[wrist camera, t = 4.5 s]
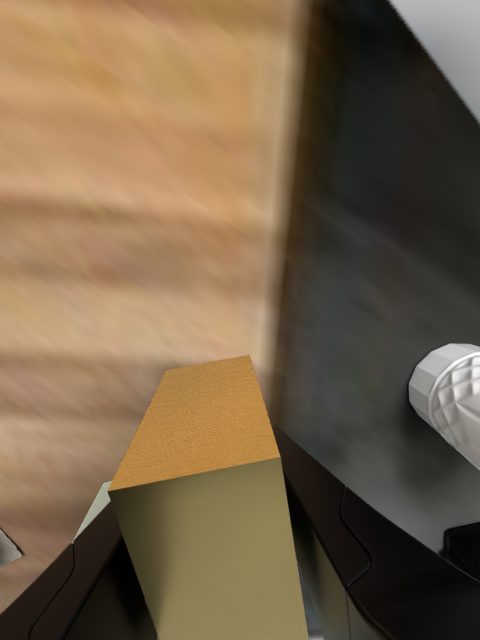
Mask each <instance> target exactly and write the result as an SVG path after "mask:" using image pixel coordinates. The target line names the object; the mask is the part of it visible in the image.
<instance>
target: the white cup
mask: <svg viewBox="0 0 480 640" xmlns="http://www.w3.org/2000/svg"><path fill="white" fill-rule="evenodd" d="M409 401H410V403H411V404H412V406H413V408H414V409H415V411H416V412H417V414H418V415H419V416H420V417H421V418H422V419H423V420H424V421H426V422H427V423H428V424H429V425H430V426H432V427H433V428H434V429H435V430H436V431H438V432H439V433H440V435H441V436H442V437H443V438H444V439H445V440H446V441H447V442H448V443H449V444H450V445H451V446H452V447H453V448H455V449H456V450H457V451H458V452H460V453H461V454H462V455H463V456H464V457H465V458H466V459H467V460H468V461H469V462H470V463H471V464H472V465H473V466H474V467H476V468H477V469H478V470H479V471H480V347H478V346H475V345H471V344H447V345H445V346H443V347H440V348H438V349H436V350H433V351H431V352H430V353H429V354H428V355H427V356H426V357H425V358H424V359H423V360H422V361H421V362H420V363H419V364H418V365H417V366H416V368H415V370H414V372H413V375H412V377H411V379H410V382H409Z"/></svg>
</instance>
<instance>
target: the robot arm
mask: <svg viewBox="0 0 480 640" xmlns="http://www.w3.org/2000/svg"><path fill="white" fill-rule="evenodd" d="M271 427H272V430H273V434H274V437H275V440H276V444H277V447H278V450H279V453H280V457H281V463H282V470H283V476H284V483H285V489H286V496H287V502H288V509H289V515H290V521H291V528H292V534H293V541H294V547H295V554H296V557H297V560H298V563H299V566H300V569H301V572H302V575H303V578H304V581H305V584H306V586H307V589H308V592H309V595H310V598H311V601H312V604H313V607H314V610H315V613H316V616H317V619H318V622H319V625H320V628H321V631H322V634H323V637H324V640H480V523H479V524H475V525H470V526H465V527H460V528H455V529H451V530H449V531H448V532H447V533H446V560H445V559H444V558H443V557H441V556H440V555H438V554H437V553H435V552H434V551H432V550H431V549H430V548H428V547H427V546H425V545H424V544H422V543H421V542H420V541H418V540H417V539H415V538H414V537H412V536H411V535H410V534H408V533H407V532H405V531H404V530H402V529H401V528H400V527H398V526H397V525H395V524H394V523H393V522H391V521H390V520H388V519H387V518H386V517H384V516H383V515H382V514H380V513H379V512H378V511H376V510H375V509H374V508H372V507H371V506H370V505H369V504H367V503H366V502H365V501H364V500H362V499H361V498H360V497H359V496H358V495H356V494H355V493H354V492H353V491H352V490H350V489H349V488H348V487H346V486H345V485H344V484H343V483H342V482H341V481H340V480H339V479H337V478H336V477H335V476H334V475H333V474H332V473H330V472H329V471H328V470H327V469H326V468H325V467H323V466H322V465H321V464H320V463H319V462H317V461H316V460H315V459H314V458H313V457H312V456H310V455H309V454H308V453H307V452H306V451H305V450H303V449H302V448H301V447H300V446H299V445H298V444H296V443H295V442H294V441H293V440H292V439H291V438H289V437H288V436H287V435H286V434H285V433H283V432H282V431H281V430H280V429H279V428H278V427H276V426H274V425H273V426H271ZM157 636H158V634H157V631H156V629H155V626H154V623H153V620H152V617H151V614H150V612H149V609H148V606H147V603H146V600H145V597H144V594H143V592H142V589H141V586H140V583H139V580H138V577H137V575H136V572H135V569H134V566H133V563H132V560H131V557H130V555H129V552H128V549H127V546H126V543H125V540H124V538H123V535H122V532H121V529H120V526H119V523H118V520H117V518H116V515H115V512H114V509H113V506H112V503H111V501H110V502H109V503H108V504H107V505H106V506H105V507H104V508H103V509H102V511H101V512H100V513H99V514H98V515H97V516H96V517H95V518H94V519H93V520H92V521H91V522H90V523H89V524H88V525H87V526H86V528H85V529H84V530H83V531H82V532H81V533H80V534H79V535H78V536H77V537H76V538H75V539H74V541H73V543H71V544H69V546H68V547H67V548H66V549H65V550H64V551H63V552H62V553H61V554H60V555H59V556H58V557H57V558H56V559H55V560H54V561H53V562H52V563H51V565H50V566H49V567H48V568H47V569H46V570H45V571H44V572H43V573H42V574H41V575H40V576H39V577H38V578H37V579H36V580H35V581H34V582H33V583H32V584H31V585H30V586H29V587H28V588H27V589H26V590H25V591H24V592H23V593H22V594H21V595H20V596H19V597H18V598H17V599H16V600H15V601H14V602H13V603H12V604H11V605H10V606H9V607H7V608H6V609H5V610H4V611H3V612H2V613H1V614H0V640H157Z"/></svg>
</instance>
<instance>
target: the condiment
mask: <svg viewBox="0 0 480 640" xmlns="http://www.w3.org/2000/svg"><path fill="white" fill-rule="evenodd" d="M20 557H22V554H21V553H20V552H19V551H18V550H17V548H16V546H15V545H14V544H13V543H12V542H11V540H10V539H9V538H8V537H7V536H5V534H4V533H3V531H2V530H1V529H0V567H1V566H3V565H5V564H8V563H10V562H13V561H15V560H16V559H18V558H20Z"/></svg>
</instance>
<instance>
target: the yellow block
mask: <svg viewBox="0 0 480 640" xmlns="http://www.w3.org/2000/svg"><path fill="white" fill-rule="evenodd" d="M107 492H108V495H109V498H110V501H111V503H112V506H113V509H114V512H115V515H116V518H117V520H118V523H119V526H120V529H121V532H122V535H123V538H124V540H125V543H126V546H127V549H128V552H129V555H130V557H131V560H132V563H133V566H134V569H135V572H136V575H137V577H138V580H139V583H140V586H141V589H142V592H143V594H144V597H145V600H146V603H147V606H148V609H149V612H150V614H151V617H152V620H153V623H154V626H155V629H156V631H157V634H158V637H159V640H309V638H308V632H307V625H306V619H305V612H304V606H303V599H302V593H301V586H300V580H299V573H298V567H297V560H296V554H295V547H294V541H293V534H292V528H291V521H290V515H289V509H288V502H287V496H286V489H285V483H284V476H283V470H282V463H281V457H280V453H279V450H278V447H277V444H276V440H275V437H274V434H273V430H272V427H271V424H270V421H269V417H268V414H267V411H266V407H265V404H264V401H263V398H262V394H261V391H260V388H259V384H258V381H257V378H256V374H255V371H254V368H253V365H252V361H251V358H250V355H246V356H241V357H235V358H230V359H224V360H219V361H214V362H208V363H203V364H197V365H192V366H187V367H181V368H176V369H170V370H166V372H165V374H164V376H163V378H162V381H161V383H160V385H159V387H158V389H157V391H156V393H155V395H154V397H153V399H152V401H151V403H150V405H149V407H148V409H147V411H146V413H145V415H144V417H143V419H142V421H141V423H140V425H139V427H138V430H137V432H136V434H135V436H134V438H133V440H132V442H131V444H130V446H129V448H128V450H127V452H126V454H125V456H124V458H123V460H122V462H121V464H120V466H119V468H118V470H117V472H116V474H115V476H114V479H113V481H112V483H111V485H110V487H109V489H108V491H107Z"/></svg>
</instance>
